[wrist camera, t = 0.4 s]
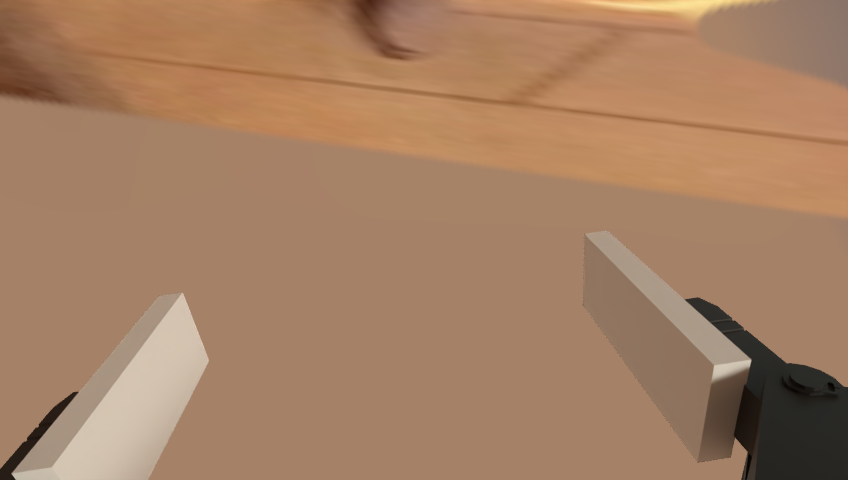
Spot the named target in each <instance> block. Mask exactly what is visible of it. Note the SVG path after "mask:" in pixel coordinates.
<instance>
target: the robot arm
mask: <svg viewBox="0 0 848 480" xmlns="http://www.w3.org/2000/svg"><path fill="white" fill-rule="evenodd" d="M583 276H584V277H583V306H584V307H585V309H586V310H587V312H588V313H589V314H590V316H591V317H592V318H593V320H594V321H595V323H596V324H597V325H598V327H599V328H600V329H601V331H602V332H603V334H604V335H605V336H606V338H607V339H608V340H609V342H610V343H611V345H612V346H613V347H614V349H615V350H616V351H617V353H618V354H619V356H620V357H621V358H622V359H623V361H624V362H625V364H626V365H627V366H628V368H629V369H630V371H631V372H632V373H633V375H634V376H635V377H636V379H637V380H638V382H639V383H640V384H641V386H642V387H643V388H644V390H645V391H646V393H647V394H648V395H649V397H650V398H651V399H652V401H653V402H654V404H655V405H656V406H657V408H658V409H659V410H660V412H661V413H662V414H663V416H664V417H665V419H666V420H667V421H668V423H669V424H670V425H671V427H672V428H673V430H674V431H675V432H676V434H677V435H678V436H679V438H680V439H681V441H682V442H683V443H684V445H685V446H686V447H687V449H688V450H689V451H690V453H691V454H692V456H693V457H694V458H695V460H696V461H697V462H698V463H699V462H705V461H711V460H717V459H724V458H730V457H731V454H732V448H733V444H734V440H735V438H736V439H737V440H738V441H739V442H740V443H741V445H742V446H743V447H744V448H745V449H746V450H747V452H748V453H747V458H746V462H745V466H744V471H743V475H742V480H848V387H844V386H842V385H841V384H840V383H839V382H838V381H837V380H836V379H834V378H833V377H831V376H830V375H828V374H826V373H824V372H822V371H820V370H817V369H815V368H812V367H808V366H805V365H799V364H792V363H788V364H787V363H785V362H784V361H783V360H782V359H781V358H779V357H778V356H777V355H776V354H775V353H773V352H772V351H771V350H770V349H768V348H767V347H766V346H765V345H764V344H762V343H761V342H760V341H759V340H758V339H756V338H755V337H754V336H753V335H752V334H750V333H749V332H748V331H747V330H746V331H744V329H743V327H742V326H741V325H739V324H738V323H737V322H736V321H733V320H732V318H731V317H730V316H729V315H727V314H726V313H725V312H724V311H723V310H721V309H720V308H719V307H718V306H716V305H713V304H711V303H709V302H707V301H705V300H703V299H700V298H691V299H683V298H682V297H681V296H680V295H679V294H678V293H676V292H675V291H674V290H673V289H672V288H671V287H670V286H669V285H667V284H666V283H665V282H664V281H663V280H662V279H661V278H660V277H659V276H657V275H656V274H655V273H654V272H653V271H652V270H651V269H649V267H647V266H646V265H645V264H644V263H643V262H642V261H641V260H639V259H638V258H637V257H636V256H635V255H634V254H633V253H632V252H631V251H629V250H628V249H627V248H626V247H625V246H624V245H623V244H622V243H621V242H619V241H618V240H617V239H616V238H615V237H614V236H613V235H612V234H611V233H609V232H608V231H602V232H595V233H588V234H584V275H583ZM208 362H209V359H208V357H207V354H206V352H205V349H204V347H203V344H202V341H201V339H200V336H199V333H198V331H197V328H196V326H195V323H194V321H193V318H192V315H191V313H190V310H189V308H188V305H187V302H186V300H185V297H184V295H183V293H175V294H168V295H161V296H158V297H157V298H156V300H155V301H154V302H153V303H152V304H151V306H150V307H149V308H148V309H147V310H146V312H145V313H144V314H143V315H142V317H141V318H140V319H139V320H138V321H137V323H136V324H135V325H134V326H133V327H132V329H131V330H130V331H129V332H128V334H127V335H126V336H125V337H124V338H123V340H122V341H121V342H120V343H119V344H118V346H117V347H116V348H115V349H114V350H113V352H112V353H111V354H110V355H109V356H108V358H107V359H106V360H105V361H104V362H103V364H102V365H101V366H100V367H99V369H98V370H97V371H96V372H95V373H94V375H93V376H92V377H91V378H90V379H89V381H88V382H87V383H86V384H85V385H84V387H83V388H82V389H81V390H80V391H79V392H73V393H72V394H71V395H69V396H68V397H67V398H65V399H64V400H63V401H62V402H60V403H59V404H58V405H56V406H55V407H54V408H53V409H52V410H51V411H50V412H49V413H48V414H47V415H46V417H45V418H44V419H43V420H42V421H41V423H40V424H39V427H38V428H35V429H34V431H33V432H32V433H31V434H30V435H29V436H28V438H27V441H26V442H24V443H22V445H21V446H20V447H19V448H18V449H17V450H16V451H15V453H14V454H13V455H12V456H11V457H10V458H9V460H8V461H7V462H6V463H5V464H4V465H3V467H2V468H1V469H0V480H148V479H149V477H150V475H151V473H152V471H153V469H154V467H155V465H156V463H157V461H158V459H159V457H160V455H161V453H162V451H163V449H164V448H165V445H166V444H167V442H168V440H169V438H170V436H171V434H172V432H173V430H174V428H175V426H176V424H177V422H178V420H179V418H180V416H181V415H182V412H183V410H184V409H185V407H186V405H187V403H188V401H189V399H190V397H191V395H192V393H193V391H194V389H195V387H196V385H197V383H198V381H199V379H200V377H201V376H202V374H203V372H204V370H205V367H206V366H207V364H208Z"/></svg>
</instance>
